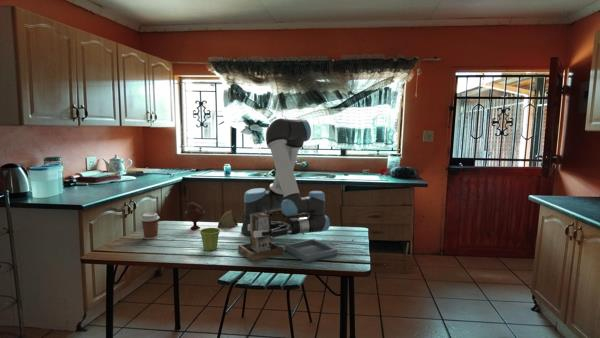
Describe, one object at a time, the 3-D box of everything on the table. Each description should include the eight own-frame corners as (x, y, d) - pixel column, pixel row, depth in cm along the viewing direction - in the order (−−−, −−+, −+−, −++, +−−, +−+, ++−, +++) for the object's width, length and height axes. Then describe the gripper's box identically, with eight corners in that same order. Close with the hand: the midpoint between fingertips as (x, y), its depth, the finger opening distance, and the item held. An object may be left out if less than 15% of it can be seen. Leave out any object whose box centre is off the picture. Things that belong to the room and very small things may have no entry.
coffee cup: (139, 236, 186) (138, 213, 184) (157, 233, 191) (156, 211, 190) (143, 241, 178) (142, 217, 177) (162, 237, 184) (161, 214, 183)
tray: (285, 250, 166) (285, 244, 165) (313, 244, 174) (313, 238, 174) (306, 263, 151) (306, 256, 150) (336, 255, 159) (337, 249, 159)
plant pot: (224, 246, 171) (224, 228, 170) (213, 253, 162) (213, 234, 161) (207, 244, 174) (207, 226, 173) (195, 250, 165) (195, 232, 164)
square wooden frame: (238, 251, 164) (238, 244, 164) (267, 245, 172) (267, 239, 172) (252, 261, 152) (252, 254, 152) (283, 255, 160) (283, 248, 160)
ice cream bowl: (199, 231, 195) (199, 204, 193) (181, 230, 197) (180, 203, 195) (208, 226, 205) (208, 200, 203) (190, 225, 207) (189, 199, 206)
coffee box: (271, 251, 160) (271, 215, 158) (258, 253, 156) (258, 217, 154) (262, 245, 168) (262, 211, 166) (249, 247, 164) (249, 213, 162)
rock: (213, 224, 201) (228, 223, 198) (216, 210, 206) (231, 209, 202) (222, 231, 210) (237, 231, 207) (225, 218, 214) (240, 217, 211)
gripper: (307, 241, 158) (257, 247, 150) (289, 227, 178) (244, 232, 170) (307, 224, 157) (257, 229, 149) (289, 212, 178) (244, 216, 169)
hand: (250, 230), depth 159 cm, fingers closed on coffee box, 9 cm apart
